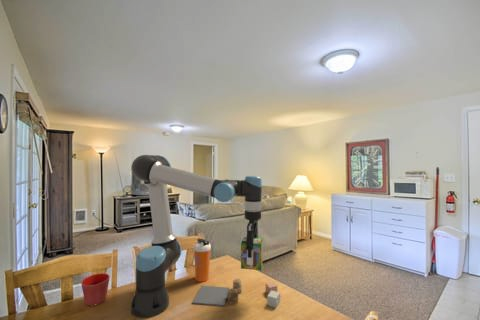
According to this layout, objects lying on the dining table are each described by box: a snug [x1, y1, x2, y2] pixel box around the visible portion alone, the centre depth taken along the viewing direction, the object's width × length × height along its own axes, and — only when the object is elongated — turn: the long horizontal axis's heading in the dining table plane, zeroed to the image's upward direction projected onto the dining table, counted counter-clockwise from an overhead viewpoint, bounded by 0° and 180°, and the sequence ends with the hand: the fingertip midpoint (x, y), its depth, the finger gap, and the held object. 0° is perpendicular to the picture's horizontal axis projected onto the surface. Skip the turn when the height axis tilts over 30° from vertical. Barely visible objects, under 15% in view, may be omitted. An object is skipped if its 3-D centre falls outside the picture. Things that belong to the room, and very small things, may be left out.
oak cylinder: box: [232, 278, 243, 295], centre depth 112 cm, size 4×4×5 cm
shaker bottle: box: [193, 238, 212, 283], centre depth 124 cm, size 9×9×20 cm
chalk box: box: [240, 236, 264, 271], centre depth 107 cm, size 9×9×15 cm
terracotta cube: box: [265, 281, 278, 296], centre depth 111 cm, size 4×4×4 cm
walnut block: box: [227, 288, 239, 304], centre depth 105 cm, size 4×4×4 cm
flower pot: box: [80, 272, 110, 306], centre depth 104 cm, size 11×11×10 cm
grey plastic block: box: [267, 290, 281, 308], centre depth 103 cm, size 4×5×4 cm
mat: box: [192, 285, 231, 307], centre depth 108 cm, size 14×14×1 cm
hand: (252, 259), depth 107 cm, fingers closed on chalk box, 9 cm apart
